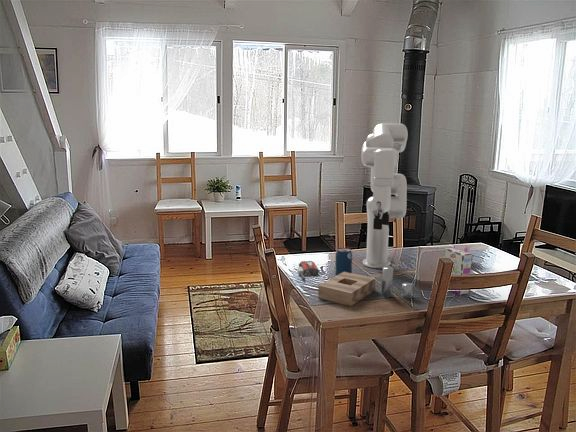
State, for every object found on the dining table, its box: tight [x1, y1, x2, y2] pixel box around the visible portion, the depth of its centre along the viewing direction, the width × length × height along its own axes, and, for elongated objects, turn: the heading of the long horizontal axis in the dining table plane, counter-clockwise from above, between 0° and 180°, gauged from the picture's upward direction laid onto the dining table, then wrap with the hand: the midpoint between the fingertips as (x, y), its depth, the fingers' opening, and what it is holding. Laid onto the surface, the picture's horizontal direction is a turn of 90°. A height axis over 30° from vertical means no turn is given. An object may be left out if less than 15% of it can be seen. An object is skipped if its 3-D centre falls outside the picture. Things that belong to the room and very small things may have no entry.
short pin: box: [401, 282, 414, 300], centre depth 202 cm, size 4×4×5 cm
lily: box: [462, 244, 474, 252], centre depth 243 cm, size 12×12×10 cm
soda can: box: [334, 247, 353, 276], centre depth 223 cm, size 7×7×12 cm
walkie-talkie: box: [297, 260, 320, 281], centre depth 228 cm, size 9×4×20 cm
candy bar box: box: [443, 246, 474, 296], centre depth 208 cm, size 11×5×16 cm, turn 22°
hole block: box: [317, 272, 376, 307], centre depth 204 cm, size 20×14×5 cm
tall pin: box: [381, 266, 394, 298], centre depth 203 cm, size 4×4×11 cm
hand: (381, 226), depth 202 cm, fingers open, 9 cm apart
